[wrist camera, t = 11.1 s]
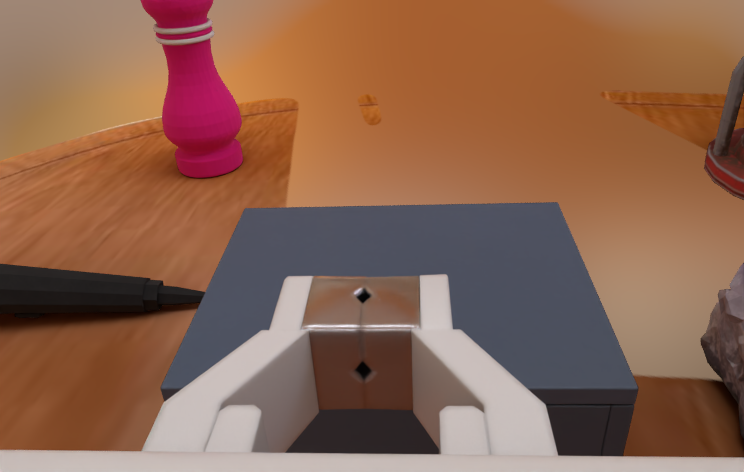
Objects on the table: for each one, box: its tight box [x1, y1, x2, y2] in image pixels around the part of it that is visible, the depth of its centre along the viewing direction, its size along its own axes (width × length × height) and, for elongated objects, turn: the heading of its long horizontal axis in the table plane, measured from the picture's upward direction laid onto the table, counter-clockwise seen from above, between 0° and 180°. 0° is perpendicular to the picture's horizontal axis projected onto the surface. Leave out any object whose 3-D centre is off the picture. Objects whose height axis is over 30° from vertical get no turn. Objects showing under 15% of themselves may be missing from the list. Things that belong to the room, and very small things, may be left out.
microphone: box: [0, 264, 205, 318], centre depth 41 cm, size 6×6×20 cm
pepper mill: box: [141, 0, 243, 178], centre depth 56 cm, size 7×7×20 cm
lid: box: [161, 202, 638, 404], centre depth 27 cm, size 13×17×1 cm
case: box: [285, 404, 634, 456], centre depth 29 cm, size 13×17×8 cm
